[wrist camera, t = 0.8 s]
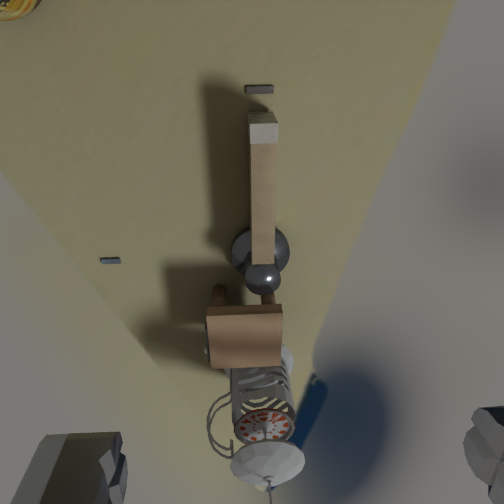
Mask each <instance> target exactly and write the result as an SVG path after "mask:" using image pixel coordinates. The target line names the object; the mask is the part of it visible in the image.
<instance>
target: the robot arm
mask: <svg viewBox="0 0 504 504" xmlns="http://www.w3.org/2000/svg"><path fill="white" fill-rule="evenodd" d="M471 420H472V421H473V423H474V424H475V426H474V427H472V428H471V429H470V430H469V431H468V432H467V433H466V435H465V439H464V442H463V444H464V451H465V456H466V459H467V461H468V464H469V466H470V467H471V469H472V471H473V472H474V474H475V476H476V477H478V478H479V479H480V480H482V481H483V482H485V483H486V484H488V496H489V498H490V499H491V501H492V503H493V504H504V406H494V407H482V408H478V409H477V410H476V411H474V413H473V415H472V418H471ZM122 443H123V442H122V437H121V434H120V432H98V433H97V432H96V433H71V434H52V435H46V436H45V437H44V438H43V440H42V441H41V442H40V443H39V445H38V447H37V449H36V452H35V453H34V456H33V458H32V460H31V462H30V464H29V466H28V468H27V470H26V472H25V474H24V476H23V478H22V480H21V482H20V484H19V487H18V489H17V491H16V493H15V495H14V497H13V499H12V501H11V503H10V504H123V502H124V497H125V493H126V485H127V475H128V471H127V460H126V456H125V455H124V454H122V453H121V452H120V451H121V447H122Z"/></svg>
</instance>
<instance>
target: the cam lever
mask: <svg viewBox="0 0 504 504" xmlns="http://www.w3.org/2000/svg"><path fill="white" fill-rule="evenodd" d="M247 118H248V146H249V212H250V227H248V228H246V229H244V230H243V231H241V232H240V233H239V234H238V235H237V236H236V237H235V239H234V241H233V243H232V247H231V258H232V262H233V265H234V266H235V268H236V269H237V270H238V271H239V272H240V273H241V274H243V275H244V276H245V281H246V286H247V288H248V289H249V290H250V291H251V292H252V293H254V294H258V295H267V294H270V293H272V292H274V291H275V290H276V289H277V288H278V287H279V285H280V282H281V278H280V273H279V272H280V271H282V270H283V269H284V267H285V266H286V264H287V262H288V260H289V256H290V250H289V246H288V242H287V240H286V238H285V236H284V235H283V234H282V233H281V232H280V231H279V230H278V229H276V228H275V212H276V171H277V143H278V121H277V119H276V117H275V115H274V113H273V111H267V112H247Z"/></svg>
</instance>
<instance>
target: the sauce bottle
mask: <svg viewBox="0 0 504 504" xmlns="http://www.w3.org/2000/svg"><path fill="white" fill-rule="evenodd" d="M40 2H41V0H0V21H11V20H17V19H19V18H22V17H24V16H27V15H28V14H29V13H31V12H32V11H33V10H34V9H35V8H36V7H37V6H38V5H39V3H40Z"/></svg>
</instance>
